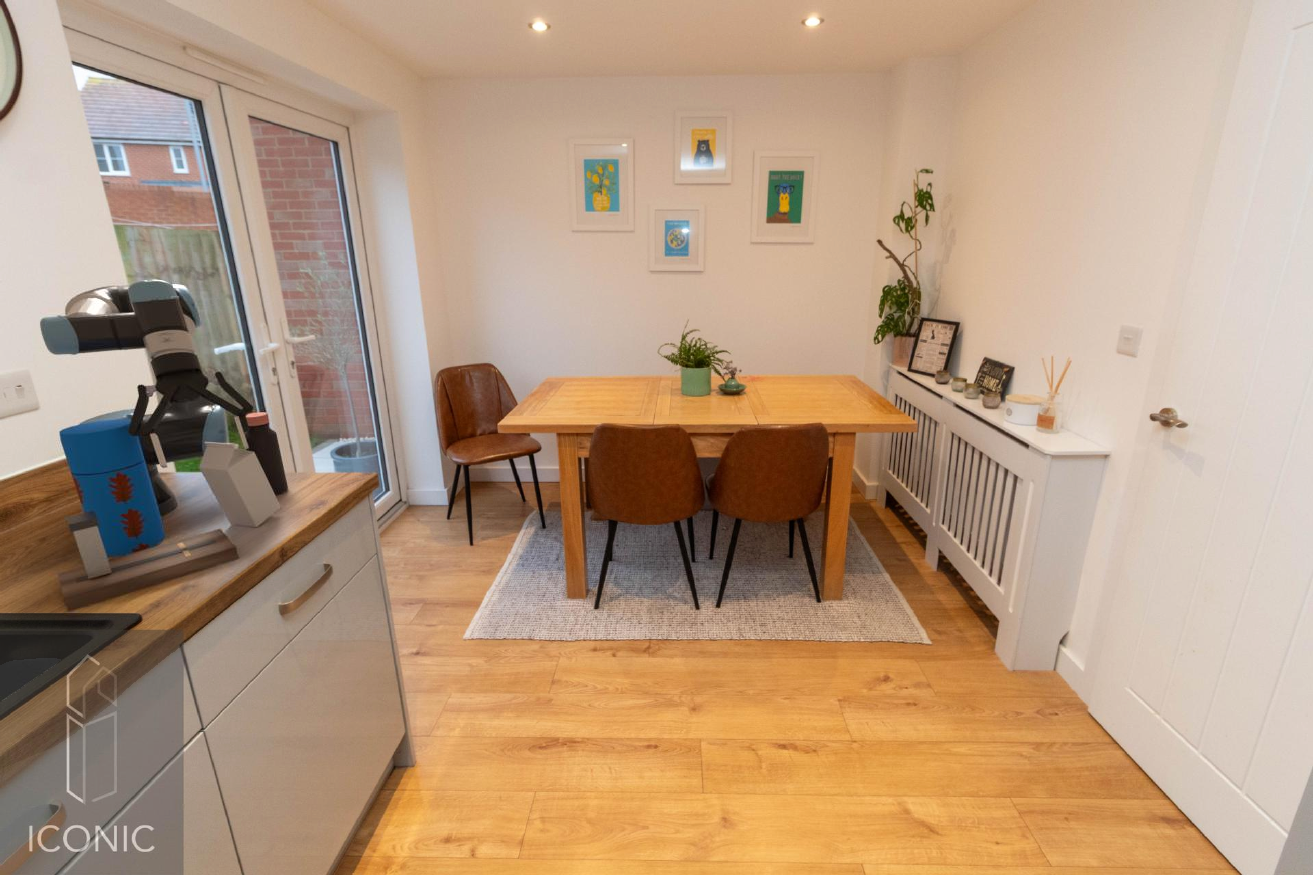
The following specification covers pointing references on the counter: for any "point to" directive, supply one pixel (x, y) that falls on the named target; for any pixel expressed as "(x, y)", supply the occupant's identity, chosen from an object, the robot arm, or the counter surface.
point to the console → (147, 568)
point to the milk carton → (238, 484)
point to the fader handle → (89, 543)
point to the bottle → (266, 450)
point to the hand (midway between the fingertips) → (206, 457)
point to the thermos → (114, 484)
